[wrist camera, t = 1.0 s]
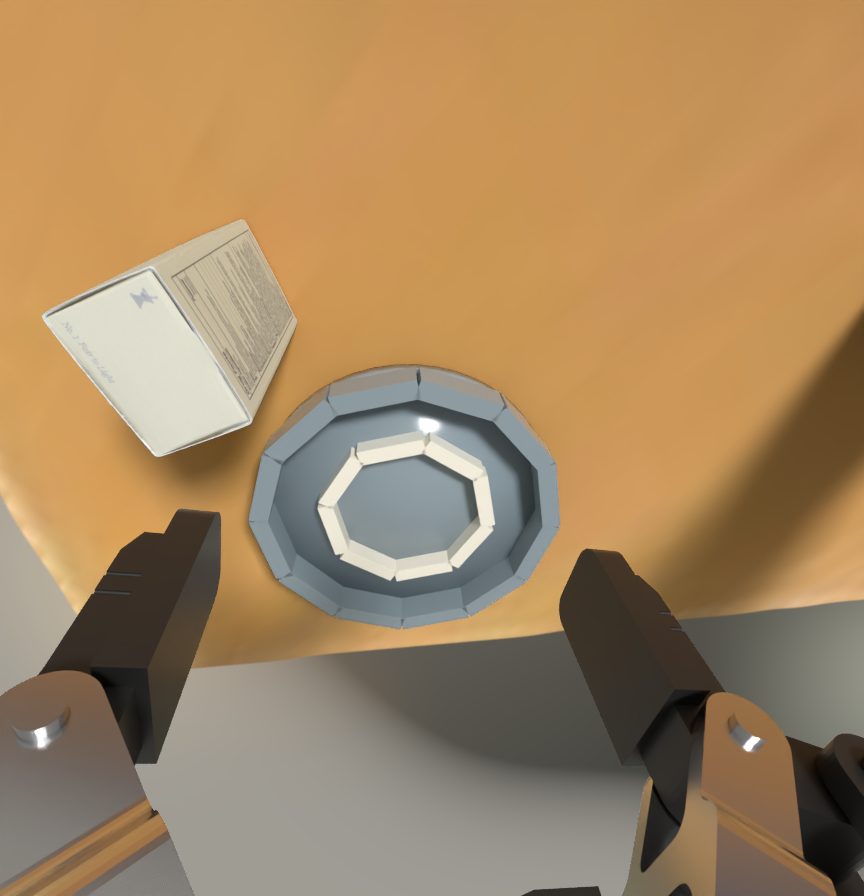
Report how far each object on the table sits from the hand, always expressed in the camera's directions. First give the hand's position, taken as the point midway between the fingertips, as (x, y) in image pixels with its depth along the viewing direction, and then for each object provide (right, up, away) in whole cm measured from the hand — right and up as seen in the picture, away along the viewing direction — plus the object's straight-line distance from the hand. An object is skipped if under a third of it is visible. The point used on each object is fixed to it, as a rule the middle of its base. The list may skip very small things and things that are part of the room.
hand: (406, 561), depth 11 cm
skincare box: (-10, +11, +17) cm, 23 cm away
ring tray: (-1, -1, +24) cm, 25 cm away
